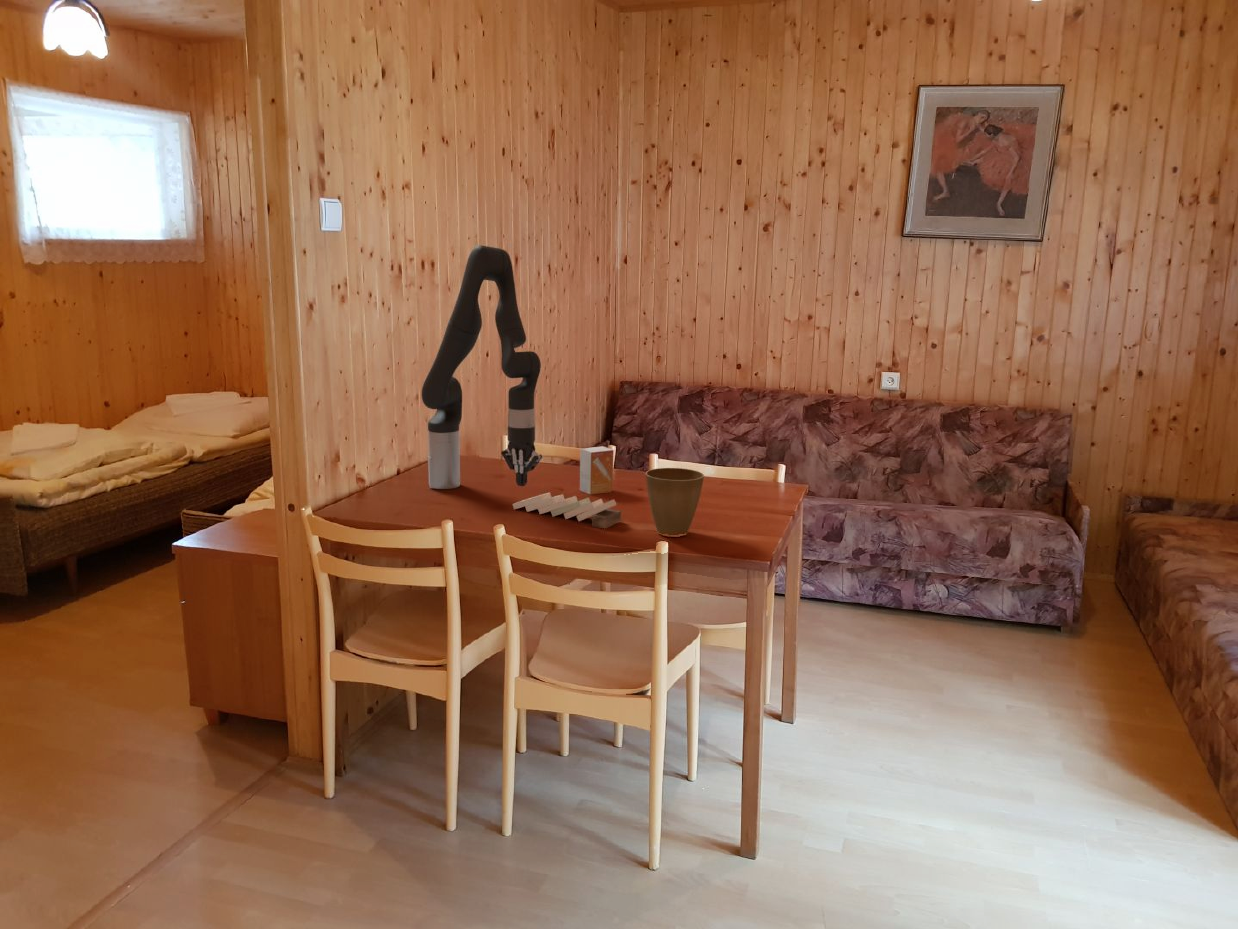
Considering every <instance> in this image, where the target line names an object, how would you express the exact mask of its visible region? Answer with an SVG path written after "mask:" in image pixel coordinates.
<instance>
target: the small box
mask: <svg viewBox="0 0 1238 929" xmlns="http://www.w3.org/2000/svg"><path fill="white" fill-rule="evenodd" d="M579 452H580V453H579V456H580V457H579V458H580V459H579V460H580V461H579V462H580V463H579V491H581V492H583V493H585V494H588V495H591V496H592V495H597V494H604V493H605V494H606V493H612V492H613V486H614V485H613V482H614V479H613V478H614V449H612V448H609V447H606V446H595V447H594V446H593V447H586V448H580V451H579ZM611 491H612V492H611Z"/></svg>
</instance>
